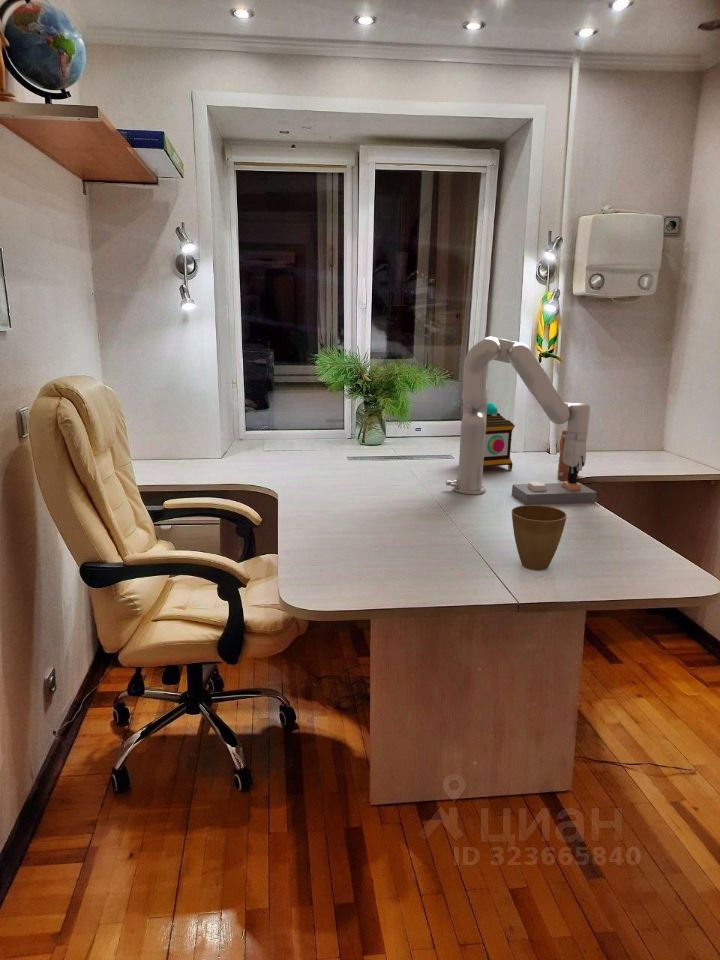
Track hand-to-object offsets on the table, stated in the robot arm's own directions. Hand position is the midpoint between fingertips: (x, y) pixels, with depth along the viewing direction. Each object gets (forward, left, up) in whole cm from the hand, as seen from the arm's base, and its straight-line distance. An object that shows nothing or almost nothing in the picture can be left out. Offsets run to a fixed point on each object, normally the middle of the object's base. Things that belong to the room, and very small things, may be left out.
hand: (572, 482), depth 253 cm
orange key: (0, 0, -3) cm, 3 cm away
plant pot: (-43, -63, -6) cm, 77 cm away
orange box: (+14, +30, -6) cm, 34 cm away
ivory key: (-14, 0, -3) cm, 14 cm away
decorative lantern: (-16, +50, -6) cm, 53 cm away
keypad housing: (-7, 0, -6) cm, 9 cm away
